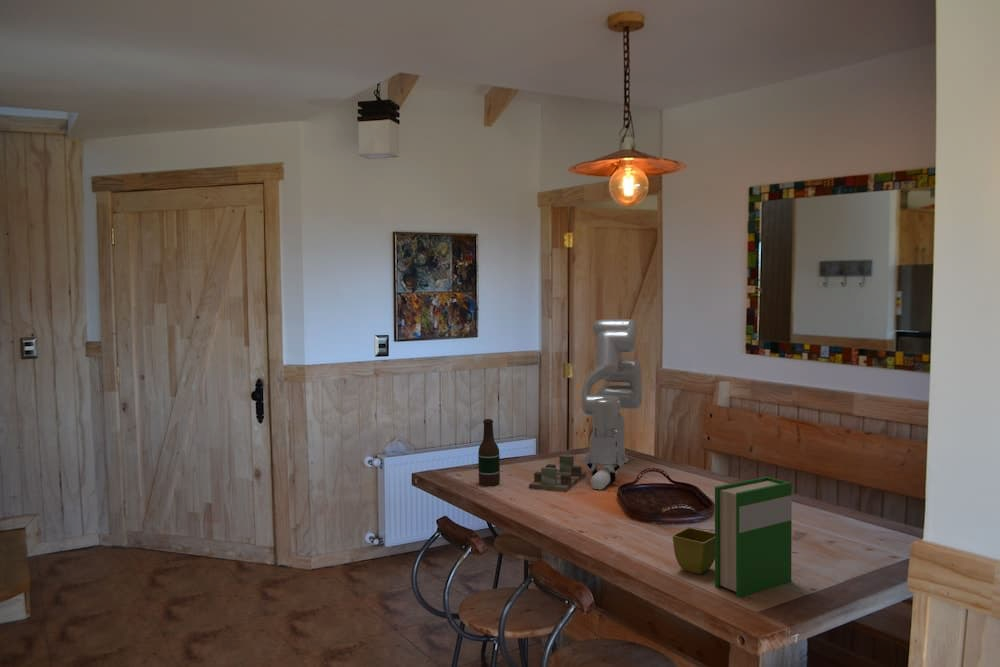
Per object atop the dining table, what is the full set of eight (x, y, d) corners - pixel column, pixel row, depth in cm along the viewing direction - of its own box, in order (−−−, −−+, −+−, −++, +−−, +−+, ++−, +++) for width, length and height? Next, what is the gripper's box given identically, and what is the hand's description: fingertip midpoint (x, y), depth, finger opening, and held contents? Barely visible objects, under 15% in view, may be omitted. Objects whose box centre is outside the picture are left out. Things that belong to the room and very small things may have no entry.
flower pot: (720, 569, 191) (720, 533, 190) (704, 579, 184) (704, 542, 184) (688, 561, 197) (688, 527, 196) (671, 570, 190) (671, 535, 190)
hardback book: (739, 597, 173) (739, 493, 172) (715, 587, 179) (714, 486, 178) (791, 581, 182) (791, 482, 181) (766, 572, 188) (766, 476, 187)
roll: (602, 478, 284) (601, 463, 284) (617, 479, 282) (616, 464, 282) (590, 489, 269) (590, 473, 269) (606, 490, 267) (605, 474, 267)
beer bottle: (499, 486, 275) (498, 421, 274) (478, 487, 276) (477, 421, 274) (500, 481, 283) (499, 417, 282) (479, 481, 283) (478, 417, 282)
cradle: (551, 472, 295) (550, 453, 295) (585, 475, 290) (585, 456, 289) (528, 488, 272) (528, 468, 272) (566, 491, 267) (565, 470, 266)
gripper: (629, 432, 274) (629, 481, 276) (583, 429, 281) (583, 477, 282) (624, 436, 268) (624, 486, 269) (577, 433, 274) (578, 482, 275)
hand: (603, 481), depth 275 cm, fingers closed on roll, 5 cm apart
